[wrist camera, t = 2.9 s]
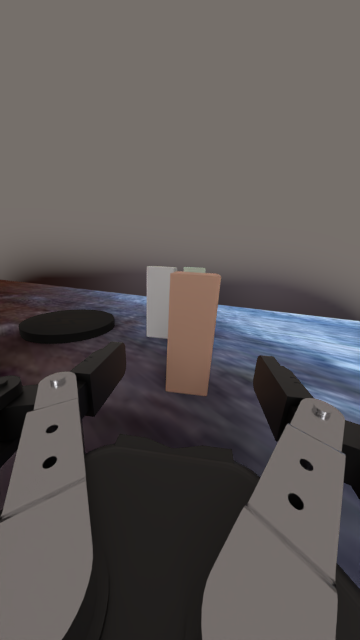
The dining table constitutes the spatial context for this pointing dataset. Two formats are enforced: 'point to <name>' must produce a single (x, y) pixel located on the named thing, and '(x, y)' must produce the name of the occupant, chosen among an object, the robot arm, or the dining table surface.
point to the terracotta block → (191, 331)
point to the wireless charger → (66, 326)
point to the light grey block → (158, 300)
